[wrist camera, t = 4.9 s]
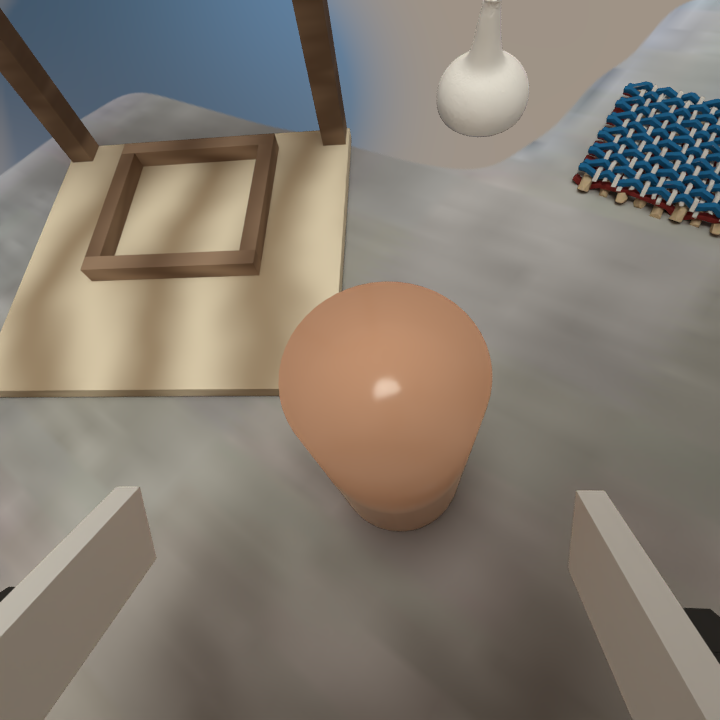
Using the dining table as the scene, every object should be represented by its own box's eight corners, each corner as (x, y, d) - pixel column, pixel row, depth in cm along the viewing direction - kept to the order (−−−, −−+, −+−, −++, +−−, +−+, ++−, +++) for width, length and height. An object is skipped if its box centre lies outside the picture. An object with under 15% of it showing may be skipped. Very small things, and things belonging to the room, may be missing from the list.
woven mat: (742, 255, 28) (765, 231, 26) (564, 195, 31) (573, 171, 29) (786, 140, 31) (809, 112, 29) (621, 98, 35) (632, 70, 33)
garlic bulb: (469, 81, 37) (471, -42, 30) (543, 102, 35) (563, -29, 28) (420, 129, 36) (411, 10, 29) (495, 155, 33) (503, 29, 26)
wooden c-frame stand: (351, 140, 35) (264, -441, 15) (335, 395, 26) (87, -189, 7) (85, 158, 37) (-285, -324, 18) (-11, 397, 29) (-942, -27, 9)
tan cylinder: (456, 412, 25) (483, 278, 14) (462, 533, 23) (501, 478, 12) (343, 412, 26) (289, 284, 15) (336, 529, 23) (266, 475, 13)
